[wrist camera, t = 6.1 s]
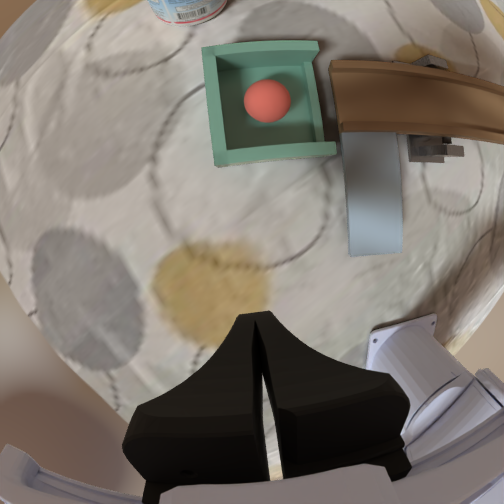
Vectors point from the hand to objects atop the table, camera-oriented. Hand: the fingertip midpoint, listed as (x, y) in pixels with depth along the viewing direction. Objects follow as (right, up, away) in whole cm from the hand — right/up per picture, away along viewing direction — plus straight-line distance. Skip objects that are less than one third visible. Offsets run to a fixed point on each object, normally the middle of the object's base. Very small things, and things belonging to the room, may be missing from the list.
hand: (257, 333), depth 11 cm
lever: (+15, +11, +5) cm, 19 cm away
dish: (+1, +13, +7) cm, 15 cm away
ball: (+1, +13, +5) cm, 14 cm away
